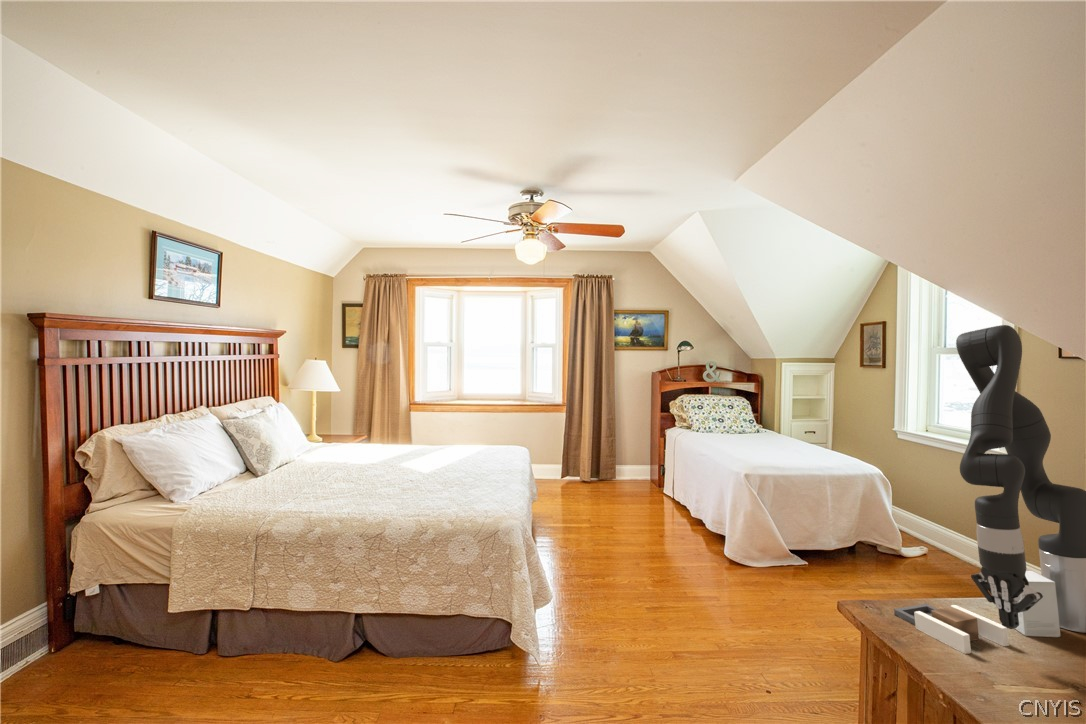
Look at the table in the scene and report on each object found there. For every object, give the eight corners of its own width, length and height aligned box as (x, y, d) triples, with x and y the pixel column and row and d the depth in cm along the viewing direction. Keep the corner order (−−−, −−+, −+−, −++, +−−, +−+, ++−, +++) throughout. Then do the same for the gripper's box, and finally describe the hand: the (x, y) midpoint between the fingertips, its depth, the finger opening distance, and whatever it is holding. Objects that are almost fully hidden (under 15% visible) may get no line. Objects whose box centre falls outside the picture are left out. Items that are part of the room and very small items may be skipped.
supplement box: (1062, 637, 115) (1056, 582, 116) (1024, 636, 117) (1019, 581, 117) (1037, 622, 123) (1032, 570, 123) (1002, 621, 124) (997, 569, 125)
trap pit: (926, 609, 132) (926, 603, 132) (949, 619, 126) (948, 613, 126) (894, 614, 130) (894, 609, 130) (915, 625, 124) (915, 619, 124)
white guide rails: (956, 621, 125) (955, 604, 126) (1009, 645, 114) (1007, 627, 114) (915, 628, 123) (914, 611, 123) (965, 654, 111) (963, 635, 112)
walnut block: (953, 627, 123) (951, 606, 123) (979, 639, 117) (977, 618, 117) (933, 631, 122) (931, 610, 122) (957, 643, 116) (956, 621, 116)
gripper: (1050, 553, 103) (1060, 638, 103) (981, 534, 116) (990, 610, 116) (1021, 558, 102) (1032, 645, 101) (955, 539, 115) (964, 616, 114)
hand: (1009, 626), depth 108 cm, fingers closed
